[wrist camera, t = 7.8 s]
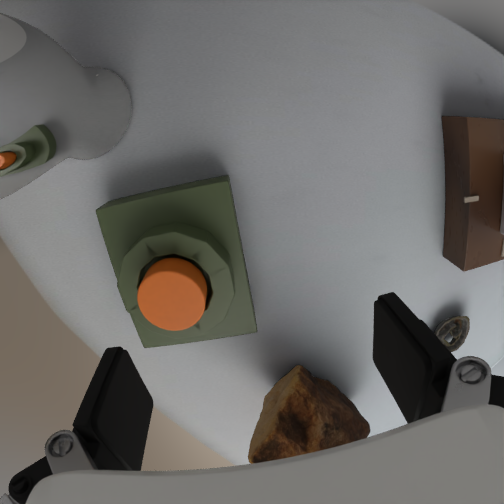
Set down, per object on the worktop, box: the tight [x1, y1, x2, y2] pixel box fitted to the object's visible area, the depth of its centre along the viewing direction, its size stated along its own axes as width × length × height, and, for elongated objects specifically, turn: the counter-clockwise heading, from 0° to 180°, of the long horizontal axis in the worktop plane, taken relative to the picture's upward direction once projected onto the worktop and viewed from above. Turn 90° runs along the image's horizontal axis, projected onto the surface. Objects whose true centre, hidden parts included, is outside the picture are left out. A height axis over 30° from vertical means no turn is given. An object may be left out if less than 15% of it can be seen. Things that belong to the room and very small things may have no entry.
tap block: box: [442, 116, 504, 271], centre depth 19 cm, size 11×10×3 cm
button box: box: [96, 175, 257, 348], centre depth 19 cm, size 10×8×4 cm
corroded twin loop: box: [434, 316, 470, 352], centre depth 25 cm, size 5×8×1 cm, turn 142°
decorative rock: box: [248, 365, 370, 464], centre depth 21 cm, size 12×6×11 cm, turn 45°
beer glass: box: [0, 13, 132, 200], centre depth 10 cm, size 7×7×15 cm
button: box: [137, 258, 207, 331], centre depth 17 cm, size 4×4×2 cm
